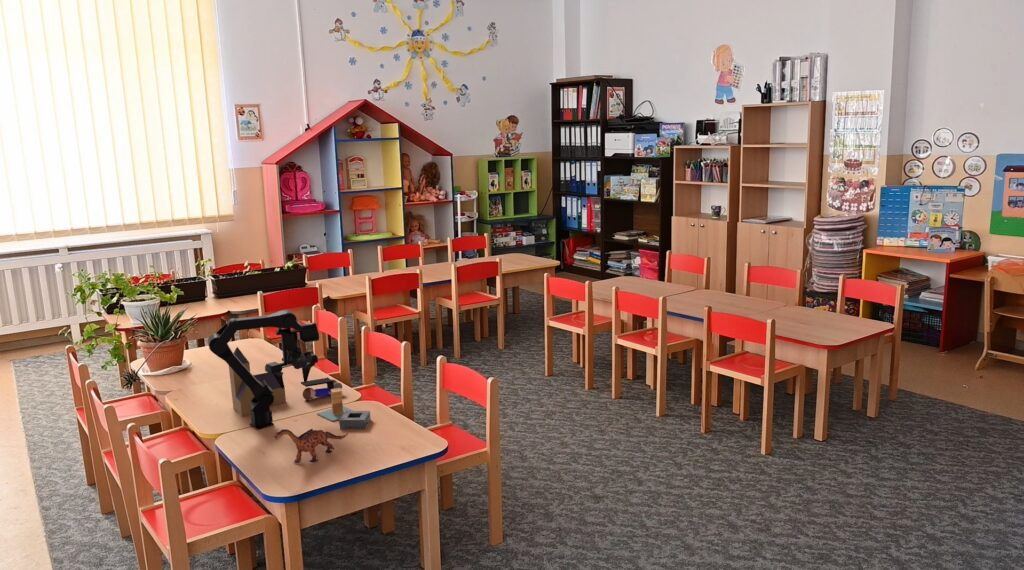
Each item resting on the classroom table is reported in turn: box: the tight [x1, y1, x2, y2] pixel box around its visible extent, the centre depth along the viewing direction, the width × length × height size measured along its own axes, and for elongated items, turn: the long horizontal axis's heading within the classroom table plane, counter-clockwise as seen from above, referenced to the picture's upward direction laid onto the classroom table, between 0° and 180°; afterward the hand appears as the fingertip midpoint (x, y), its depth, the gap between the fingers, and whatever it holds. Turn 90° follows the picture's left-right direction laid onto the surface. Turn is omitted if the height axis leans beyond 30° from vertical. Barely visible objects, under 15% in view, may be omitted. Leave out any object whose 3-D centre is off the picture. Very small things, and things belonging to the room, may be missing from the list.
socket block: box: [338, 410, 372, 430], centre depth 287 cm, size 9×9×4 cm
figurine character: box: [300, 377, 343, 401], centre depth 317 cm, size 7×8×15 cm
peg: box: [330, 388, 344, 415], centre depth 297 cm, size 4×4×9 cm
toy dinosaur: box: [273, 428, 349, 465], centre depth 257 cm, size 8×30×15 cm, turn 153°
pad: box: [316, 405, 354, 423], centre depth 298 cm, size 11×11×1 cm
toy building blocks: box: [228, 346, 287, 418], centre depth 305 cm, size 12×19×25 cm
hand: (294, 385), depth 291 cm, fingers open, 9 cm apart
